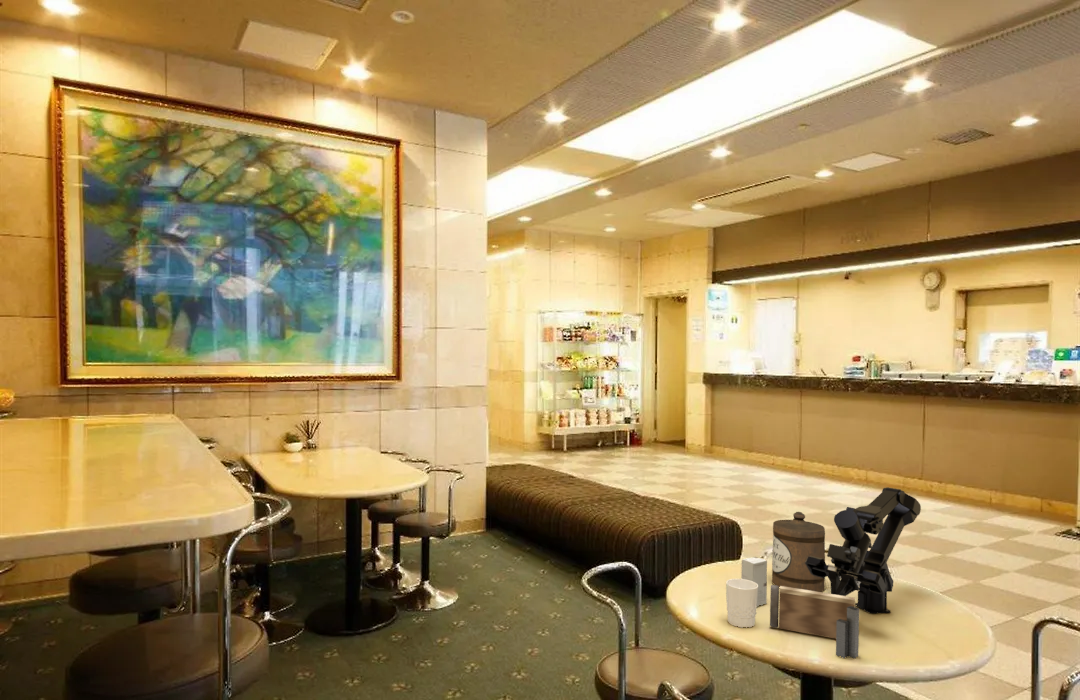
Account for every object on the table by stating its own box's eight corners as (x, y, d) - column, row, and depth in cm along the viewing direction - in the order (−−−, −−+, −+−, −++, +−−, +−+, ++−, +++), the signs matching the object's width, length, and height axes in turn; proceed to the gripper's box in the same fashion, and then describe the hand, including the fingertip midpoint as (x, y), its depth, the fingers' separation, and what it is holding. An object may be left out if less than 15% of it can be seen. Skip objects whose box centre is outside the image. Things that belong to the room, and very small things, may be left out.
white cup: (734, 614, 175) (735, 576, 175) (762, 623, 169) (763, 584, 169) (719, 622, 169) (720, 583, 169) (747, 631, 163) (748, 591, 164)
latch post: (835, 655, 151) (836, 607, 152) (843, 651, 154) (844, 603, 154) (851, 660, 149) (852, 612, 149) (858, 656, 151) (859, 608, 151)
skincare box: (753, 608, 179) (754, 563, 179) (739, 602, 183) (740, 559, 183) (767, 604, 182) (768, 560, 183) (754, 598, 186) (755, 555, 186)
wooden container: (768, 575, 207) (770, 505, 207) (818, 579, 204) (820, 508, 204) (775, 591, 193) (777, 516, 193) (829, 596, 190) (831, 520, 190)
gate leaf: (769, 626, 166) (770, 586, 166) (770, 623, 167) (771, 584, 168) (854, 642, 158) (854, 600, 158) (853, 638, 160) (854, 597, 160)
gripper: (809, 524, 176) (786, 574, 169) (882, 540, 162) (861, 595, 155) (822, 549, 181) (801, 598, 174) (894, 567, 167) (874, 621, 160)
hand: (832, 602), depth 165 cm, fingers closed
